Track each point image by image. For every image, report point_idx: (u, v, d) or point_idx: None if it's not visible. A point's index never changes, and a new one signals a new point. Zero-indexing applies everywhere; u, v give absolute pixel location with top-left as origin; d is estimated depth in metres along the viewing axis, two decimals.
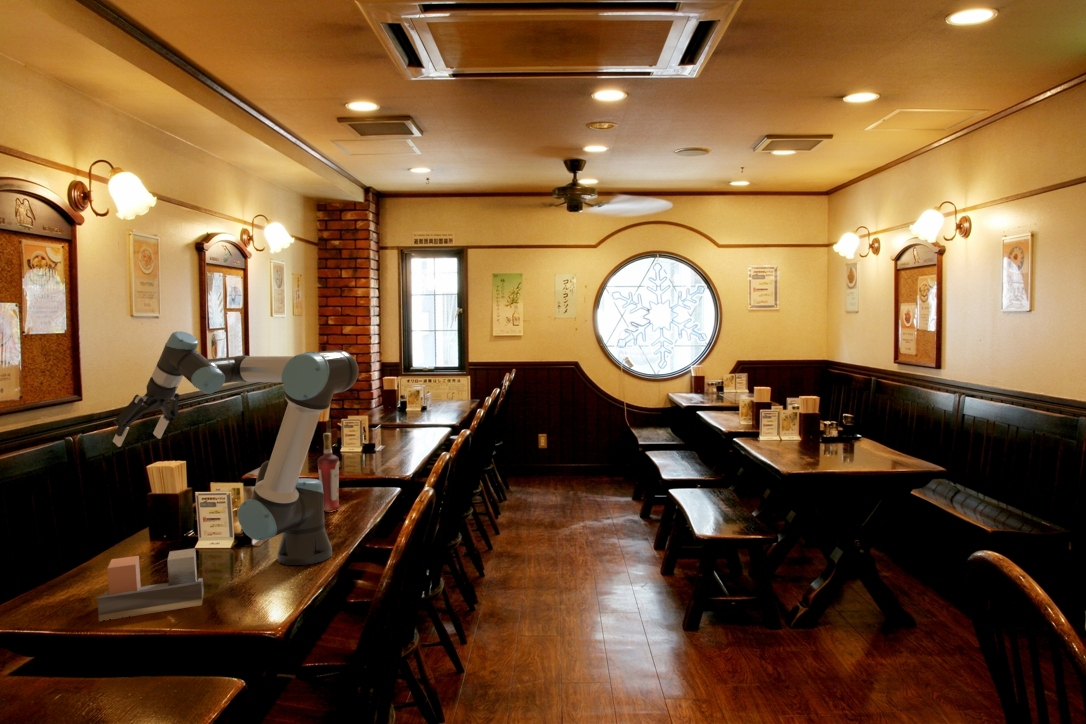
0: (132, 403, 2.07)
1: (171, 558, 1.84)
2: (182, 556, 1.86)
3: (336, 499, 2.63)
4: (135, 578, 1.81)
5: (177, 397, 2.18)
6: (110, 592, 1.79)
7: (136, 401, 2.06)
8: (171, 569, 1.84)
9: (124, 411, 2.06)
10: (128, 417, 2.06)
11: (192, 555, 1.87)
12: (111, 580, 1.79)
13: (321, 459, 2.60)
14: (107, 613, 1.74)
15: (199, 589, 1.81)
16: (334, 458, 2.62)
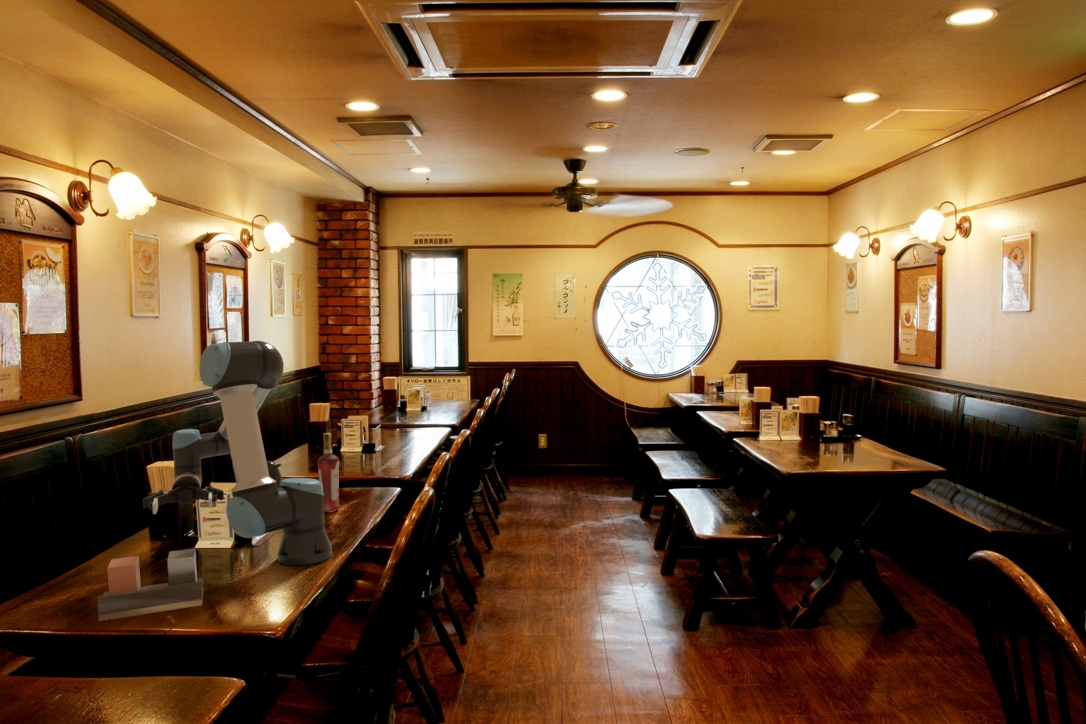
0: None
1: (171, 558, 1.84)
2: (182, 556, 1.86)
3: (336, 499, 2.63)
4: (135, 578, 1.81)
5: (209, 486, 2.15)
6: (110, 592, 1.79)
7: None
8: (171, 569, 1.84)
9: None
10: (151, 495, 2.05)
11: (192, 555, 1.87)
12: (111, 580, 1.79)
13: (321, 459, 2.60)
14: (107, 613, 1.74)
15: (199, 589, 1.81)
16: (334, 458, 2.62)
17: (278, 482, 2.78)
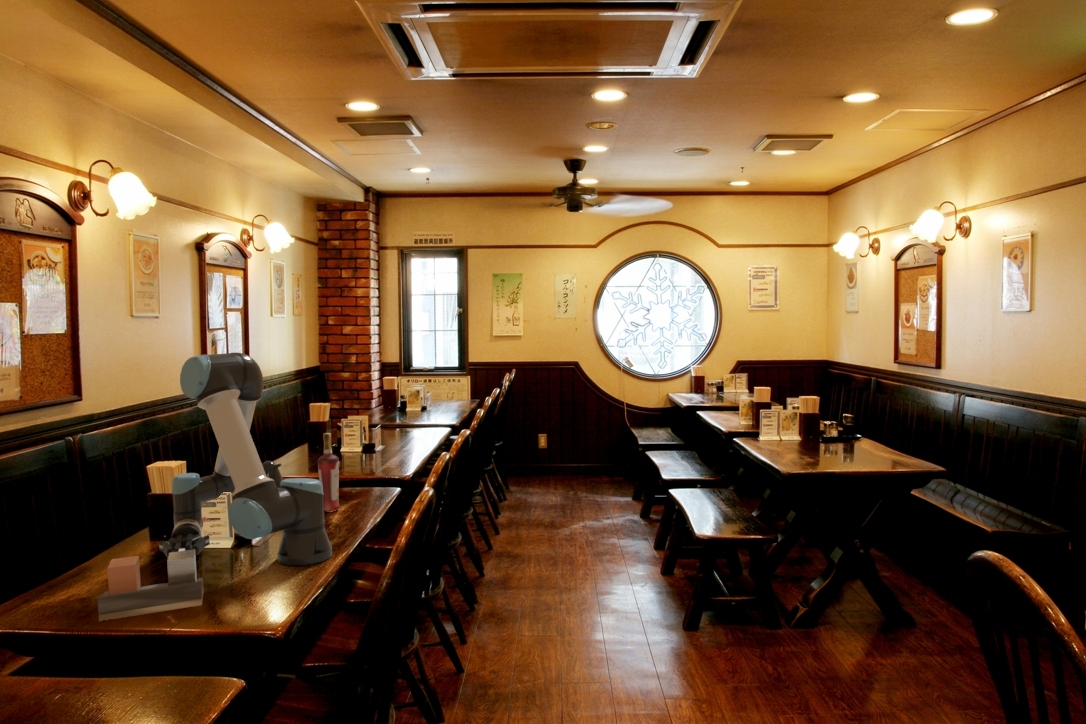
0: (163, 549, 2.01)
1: (171, 560, 1.83)
2: (182, 557, 1.85)
3: (336, 499, 2.63)
4: (135, 578, 1.81)
5: (205, 536, 2.07)
6: (110, 592, 1.79)
7: (161, 546, 2.02)
8: (171, 570, 1.83)
9: (165, 553, 1.99)
10: (167, 546, 1.99)
11: (192, 556, 1.86)
12: (111, 580, 1.79)
13: (321, 459, 2.60)
14: (107, 613, 1.74)
15: (199, 589, 1.81)
16: (334, 458, 2.62)
17: (278, 482, 2.78)
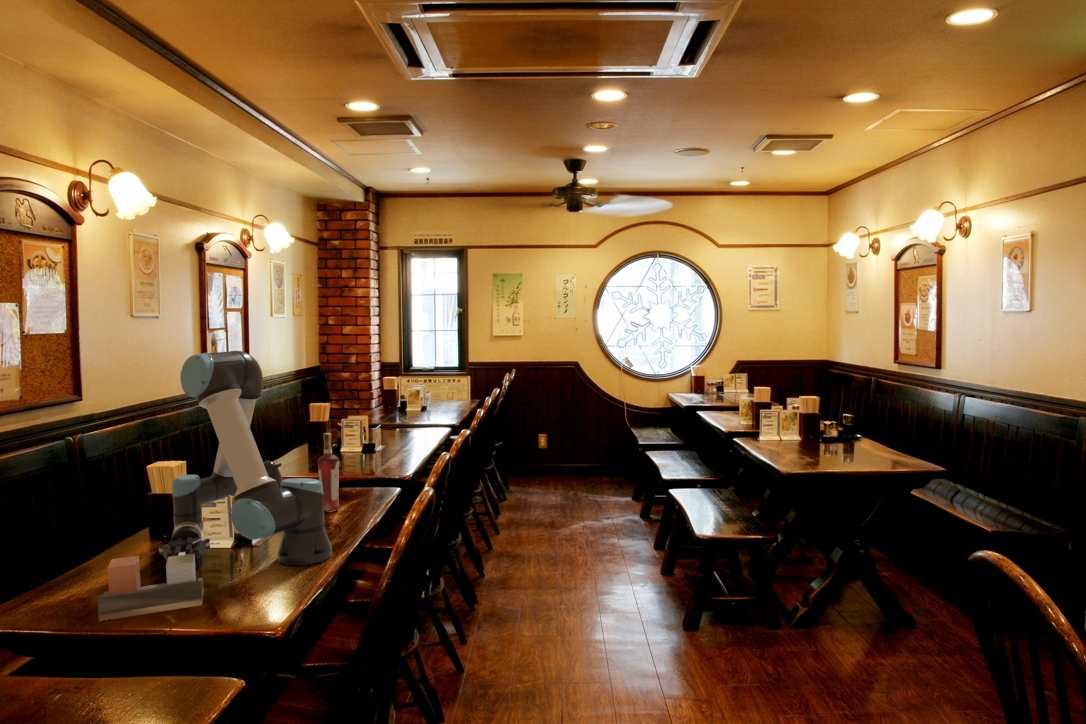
0: (162, 553, 1.98)
1: (170, 564, 1.80)
2: (181, 562, 1.82)
3: (336, 499, 2.63)
4: (135, 578, 1.81)
5: (206, 539, 2.04)
6: (110, 592, 1.79)
7: (160, 549, 1.99)
8: (170, 575, 1.80)
9: (165, 557, 1.96)
10: (167, 550, 1.96)
11: (191, 561, 1.82)
12: (111, 580, 1.79)
13: (321, 459, 2.60)
14: (107, 613, 1.74)
15: (199, 589, 1.81)
16: (334, 458, 2.62)
17: (278, 482, 2.78)
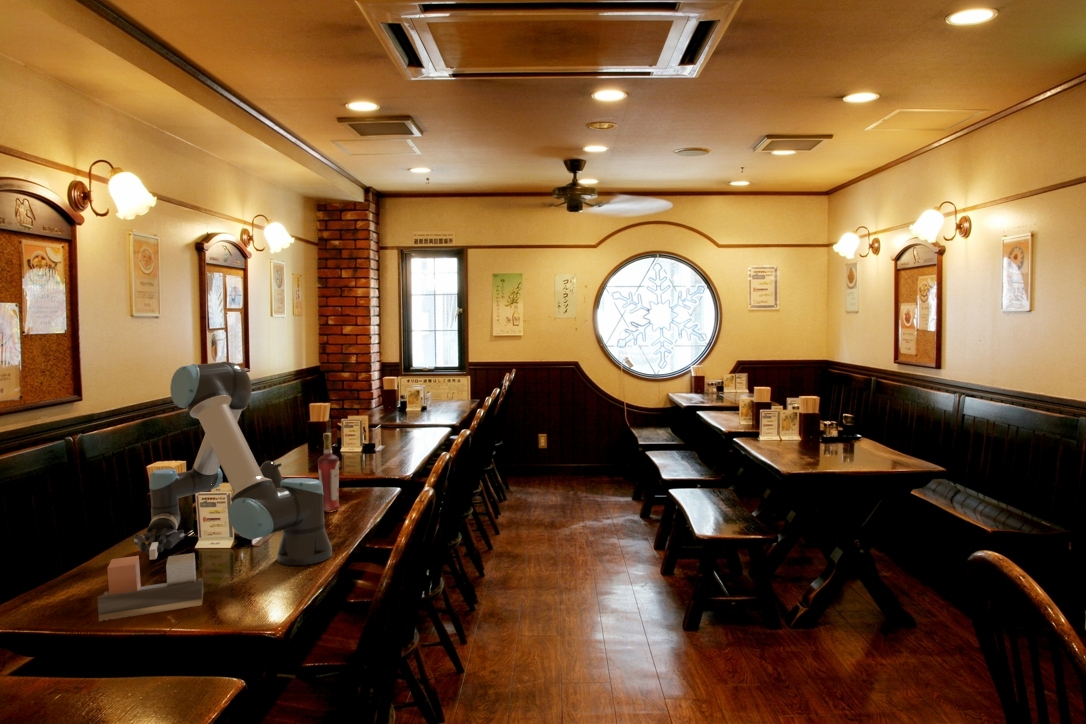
0: (137, 543, 2.06)
1: (170, 564, 1.80)
2: (181, 561, 1.82)
3: (336, 499, 2.63)
4: (135, 578, 1.81)
5: (180, 530, 2.12)
6: (110, 592, 1.79)
7: (136, 540, 2.07)
8: (170, 574, 1.80)
9: (139, 547, 2.04)
10: (141, 540, 2.04)
11: (191, 560, 1.83)
12: (111, 580, 1.79)
13: (321, 459, 2.60)
14: (107, 613, 1.74)
15: (199, 589, 1.81)
16: (334, 458, 2.62)
17: (278, 482, 2.78)
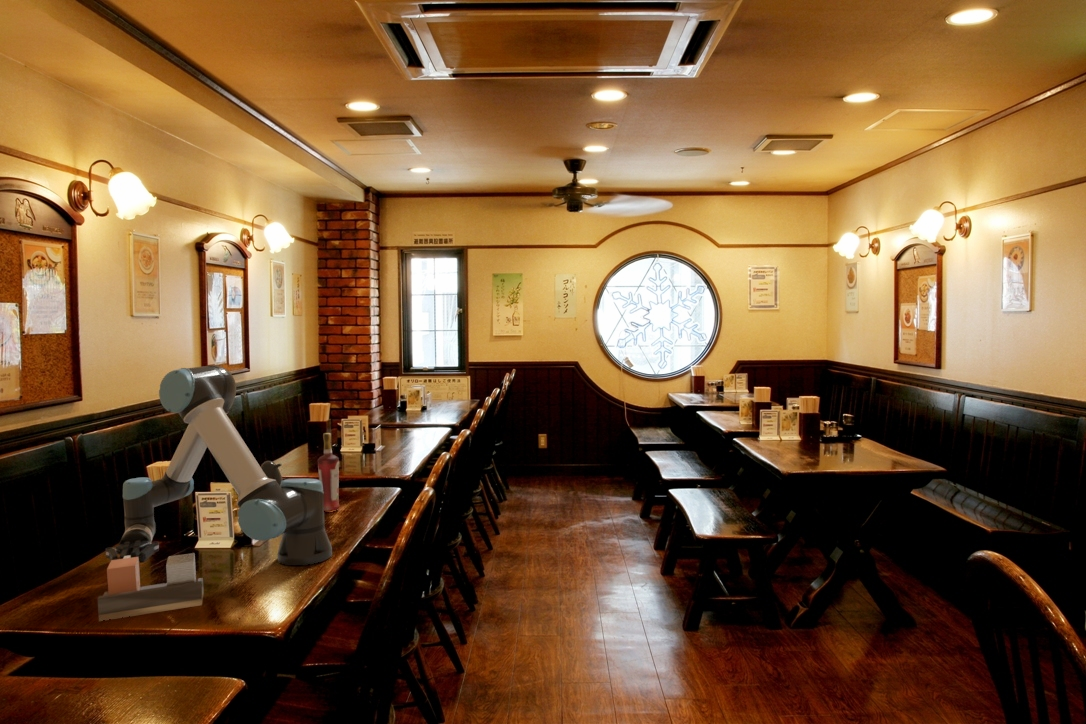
0: (109, 556, 1.97)
1: (170, 564, 1.80)
2: (181, 561, 1.82)
3: (336, 499, 2.63)
4: (135, 579, 1.80)
5: (154, 542, 2.02)
6: (109, 593, 1.78)
7: (107, 553, 1.97)
8: (170, 574, 1.80)
9: None
10: (113, 553, 1.94)
11: (191, 560, 1.83)
12: (111, 581, 1.78)
13: (321, 459, 2.60)
14: (107, 613, 1.74)
15: (199, 589, 1.81)
16: (334, 458, 2.62)
17: (278, 482, 2.78)
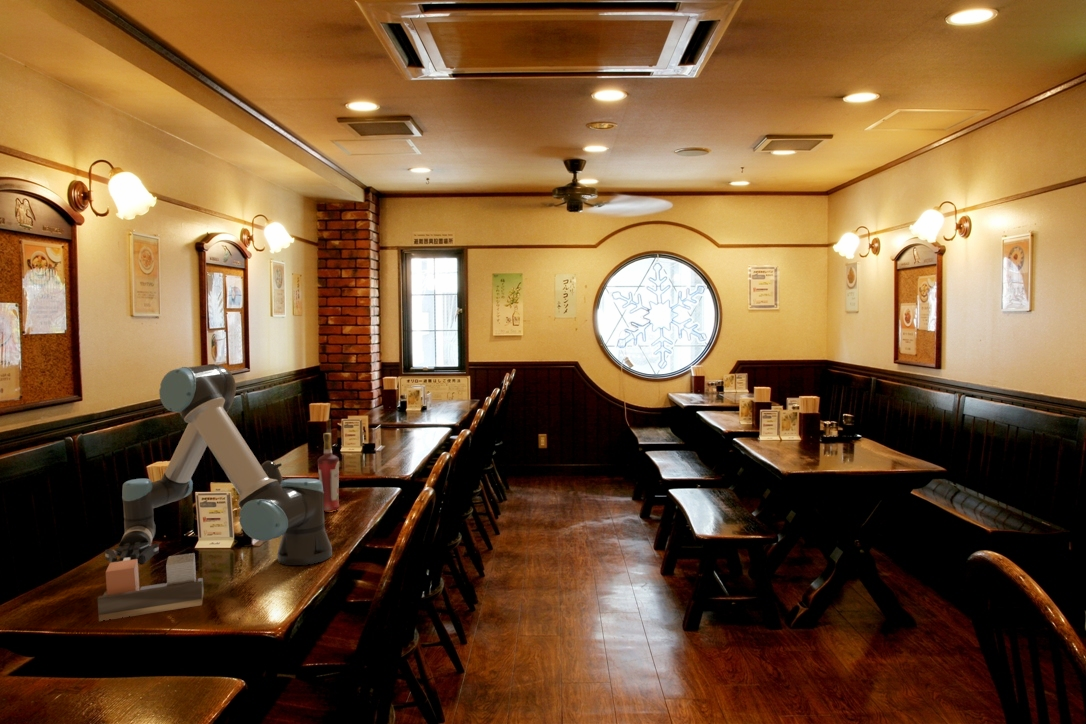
0: (109, 558, 1.95)
1: (170, 564, 1.80)
2: (181, 561, 1.82)
3: (336, 499, 2.63)
4: (134, 582, 1.78)
5: (154, 544, 2.00)
6: None
7: (107, 555, 1.96)
8: (170, 574, 1.80)
9: (110, 562, 1.92)
10: (112, 555, 1.92)
11: (191, 560, 1.83)
12: (109, 583, 1.76)
13: (321, 459, 2.60)
14: (107, 613, 1.74)
15: (199, 589, 1.81)
16: (334, 458, 2.62)
17: None
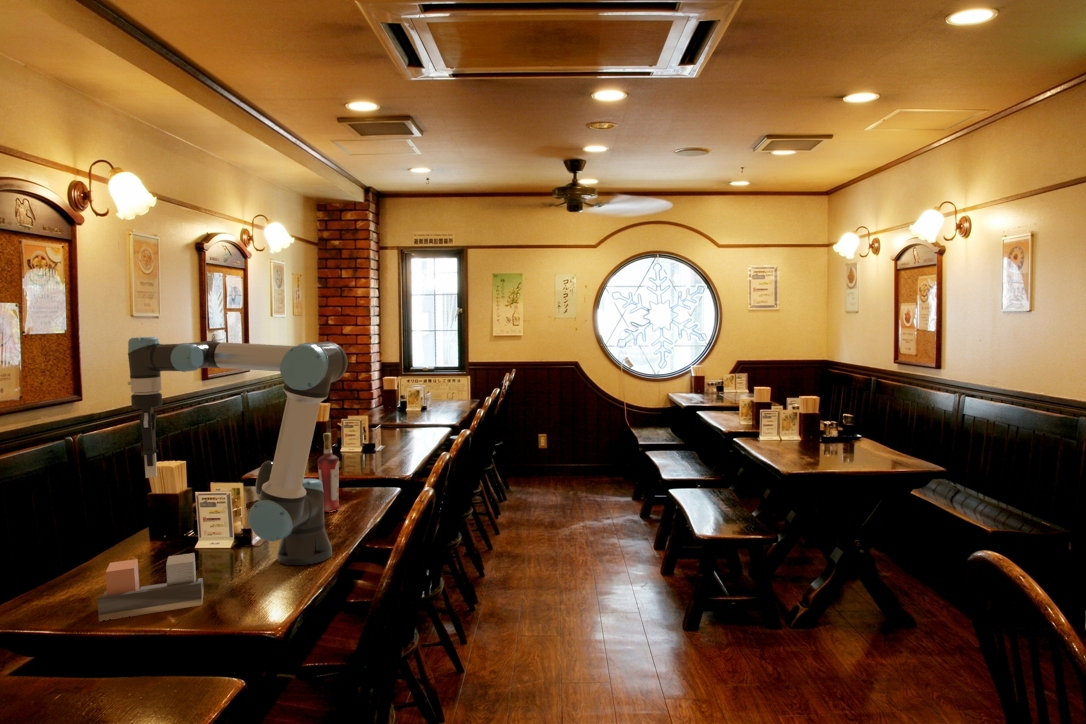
0: (144, 430, 2.00)
1: (170, 564, 1.80)
2: (181, 561, 1.82)
3: (336, 499, 2.63)
4: (134, 582, 1.78)
5: None
6: None
7: (146, 426, 1.99)
8: (170, 574, 1.80)
9: (144, 440, 2.00)
10: (152, 440, 2.02)
11: (191, 560, 1.83)
12: (109, 583, 1.76)
13: (321, 459, 2.60)
14: (107, 613, 1.74)
15: (199, 589, 1.81)
16: (334, 458, 2.62)
17: None
